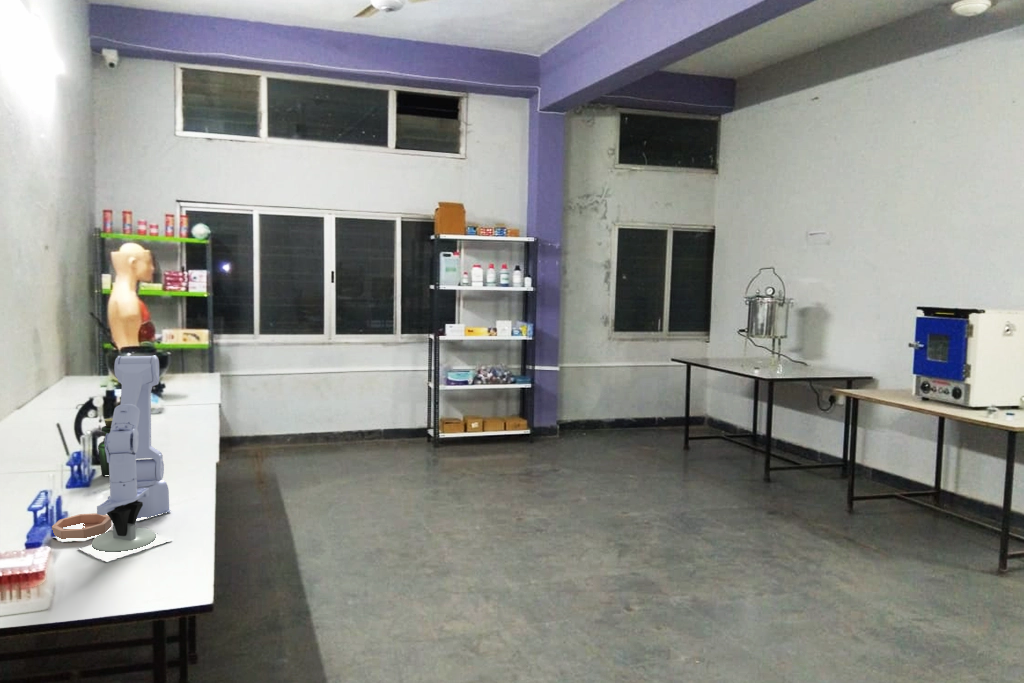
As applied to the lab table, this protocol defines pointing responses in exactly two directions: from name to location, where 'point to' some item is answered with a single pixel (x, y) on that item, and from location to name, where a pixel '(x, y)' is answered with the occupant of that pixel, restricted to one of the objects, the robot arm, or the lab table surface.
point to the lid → (124, 539)
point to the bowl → (92, 522)
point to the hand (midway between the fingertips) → (125, 533)
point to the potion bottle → (102, 448)
